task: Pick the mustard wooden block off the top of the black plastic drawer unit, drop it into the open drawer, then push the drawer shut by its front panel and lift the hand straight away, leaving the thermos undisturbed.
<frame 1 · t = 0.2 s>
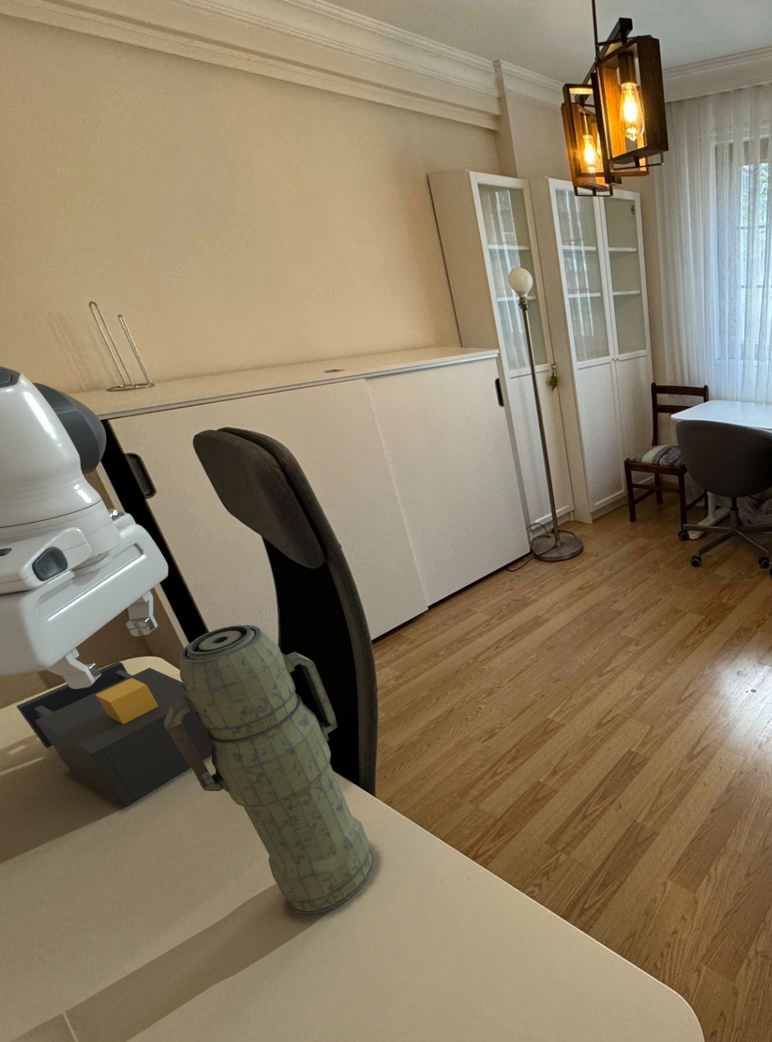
hand: (118, 656, 59), 30 cm above the table, tool pointing down, fingers open, 8 cm apart
cabinet: (153, 756, 85), on the table
block: (133, 711, 80), point 10 cm above the table, touching cabinet
thermos: (333, 880, 67), on the table
drawer: (98, 710, 88), point 5 cm above the table, slide at 8.0 cm
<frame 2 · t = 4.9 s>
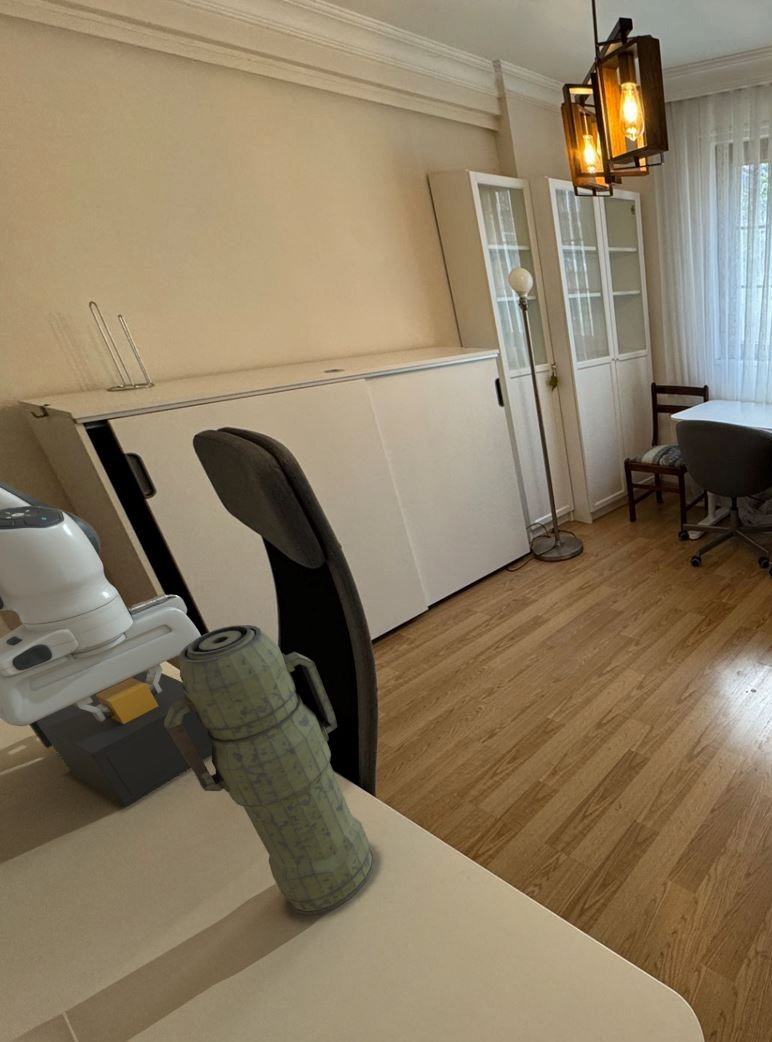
hand: (130, 705, 79), 11 cm above the table, tool pointing down, fingers closed on block, 4 cm apart
block: (134, 711, 80), point 10 cm above the table, touching cabinet, gripper
everything else where it was.
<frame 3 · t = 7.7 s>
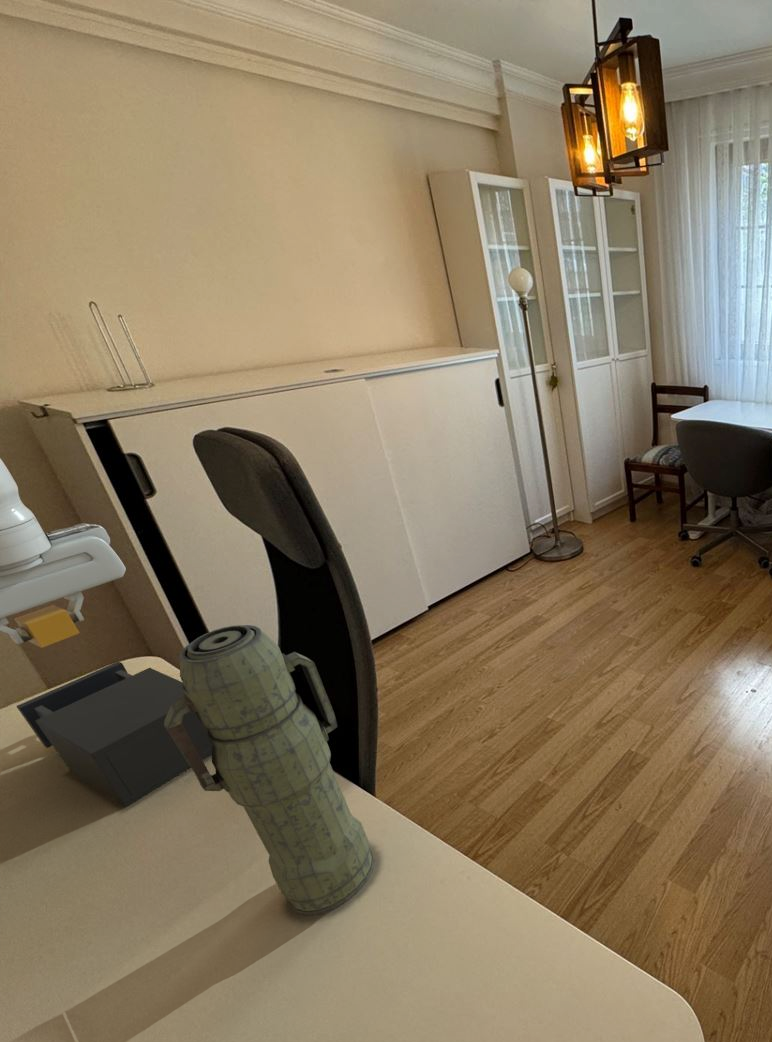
hand: (50, 631, 81), 20 cm above the table, tool pointing down, fingers closed on block, 4 cm apart
block: (54, 637, 81), point 19 cm above the table, touching gripper
everything else where it was.
when the fingers open (9 cm above the table, at t = 10.9 s): block drops 6 cm, resting on drawer.
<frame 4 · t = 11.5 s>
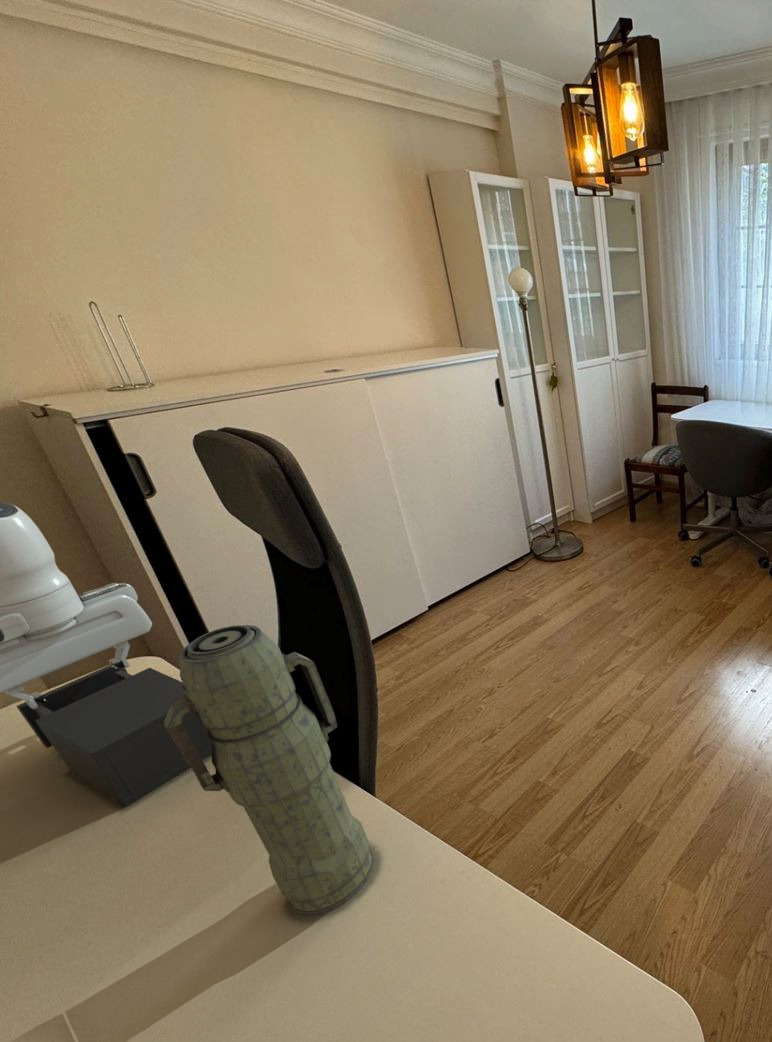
hand: (82, 686, 85), 10 cm above the table, tool pointing down, fingers open, 8 cm apart
block: (107, 723, 89), point 2 cm above the table, touching drawer
drawer: (98, 710, 88), point 5 cm above the table, slide at 8.0 cm, touching block
everything else where it was.
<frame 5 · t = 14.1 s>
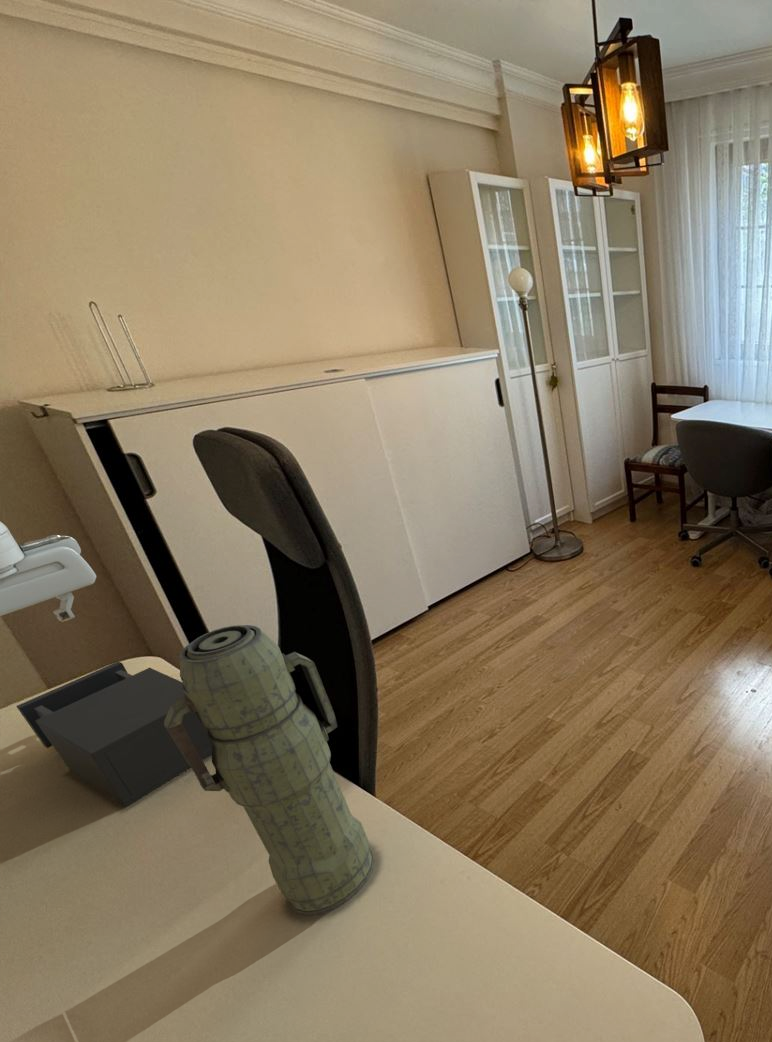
hand: (26, 634, 88), 16 cm above the table, tool pointing down, fingers open, 8 cm apart
nothing on the table moved.
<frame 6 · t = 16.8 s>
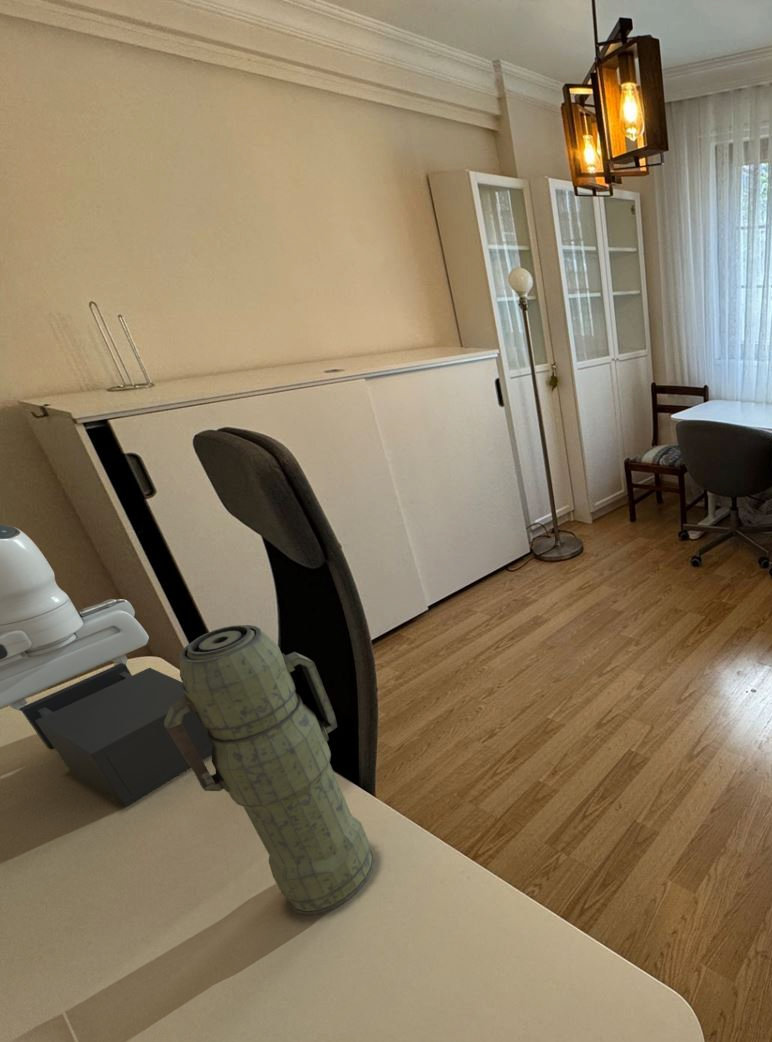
hand: (82, 698, 89), 6 cm above the table, tool pointing down, fingers open, 8 cm apart
block: (111, 725, 88), point 2 cm above the table, touching drawer
drawer: (102, 712, 87), point 5 cm above the table, slide at 6.9 cm, touching block, gripper
everything else where it was.
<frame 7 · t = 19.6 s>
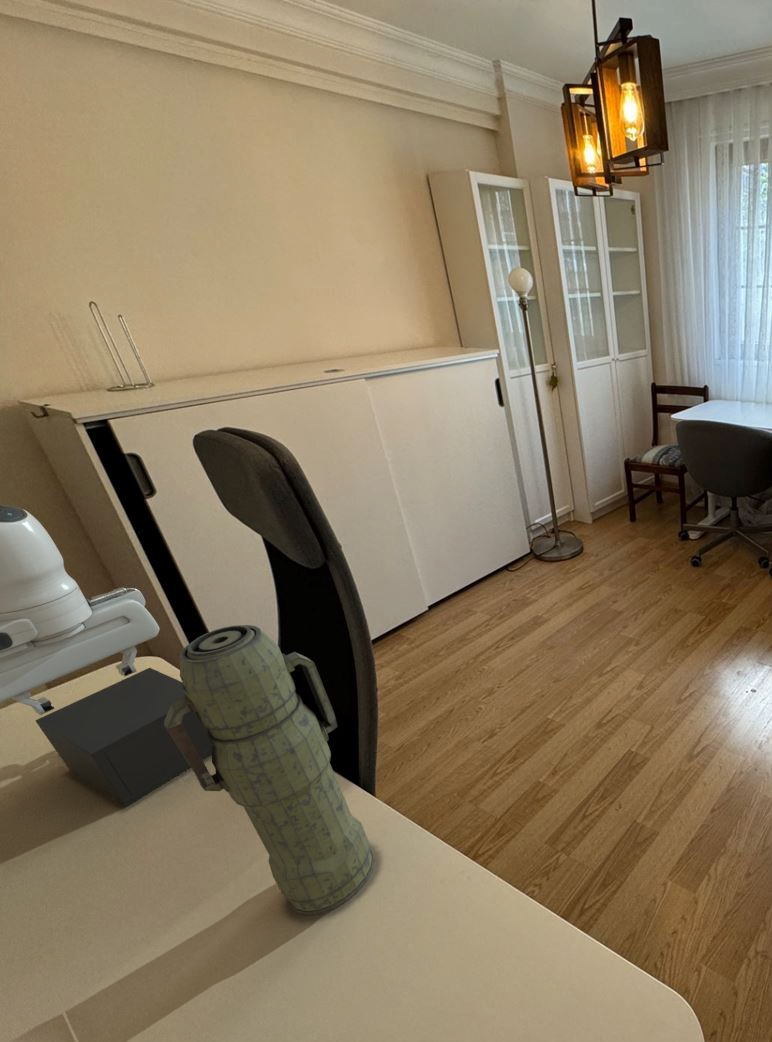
hand: (89, 691, 85), 10 cm above the table, tool pointing down, fingers open, 8 cm apart
block: (133, 738, 86), point 2 cm above the table, touching drawer
drawer: (124, 724, 85), point 5 cm above the table, slide at 0.0 cm, touching block, cabinet
everything else where it was.
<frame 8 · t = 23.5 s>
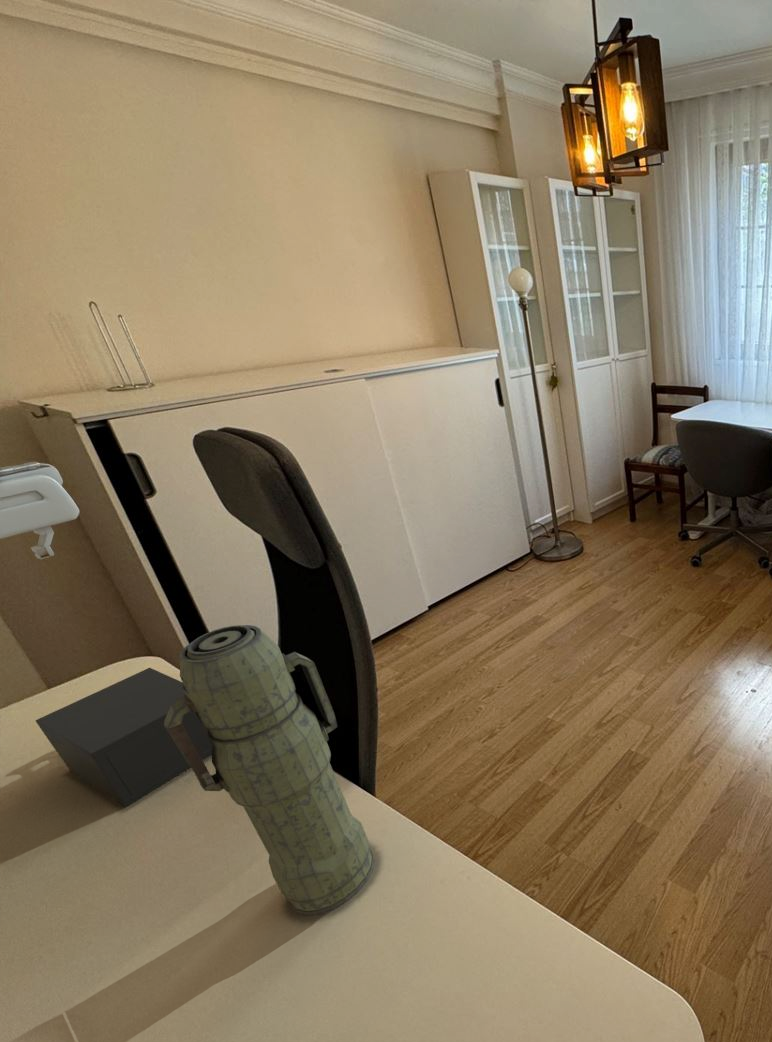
nothing on the table moved.
at the end: block inside the target area in the cabinet (4.0 cm from its centre), point 2.2 cm above the cabinet's base; drawer slide at 0.0 cm; thermos moved 0.2 cm from its start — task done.
